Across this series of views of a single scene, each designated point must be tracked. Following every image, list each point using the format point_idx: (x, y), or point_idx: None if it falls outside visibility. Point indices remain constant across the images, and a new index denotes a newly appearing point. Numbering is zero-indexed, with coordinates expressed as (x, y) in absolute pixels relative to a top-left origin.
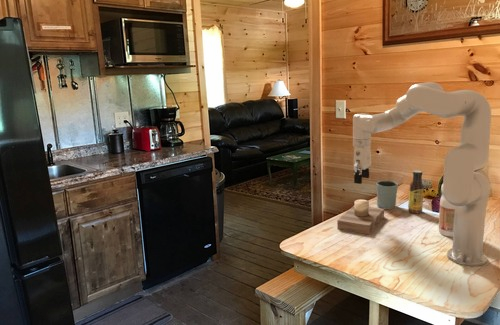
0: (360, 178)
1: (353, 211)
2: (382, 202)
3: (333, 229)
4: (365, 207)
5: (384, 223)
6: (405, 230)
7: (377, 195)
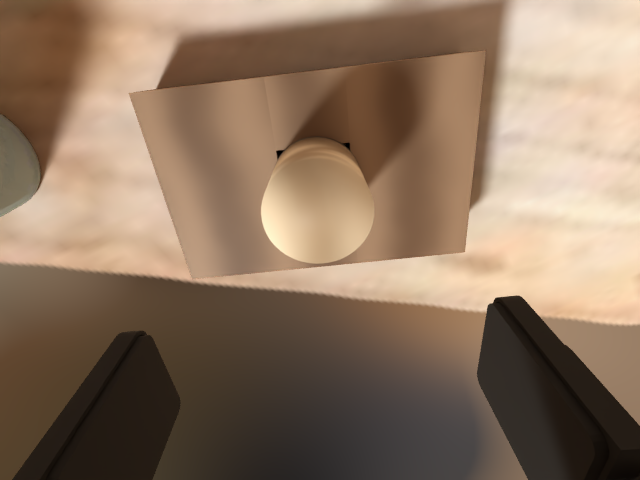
0: (575, 378)
1: None
2: (6, 169)
3: None
4: (347, 159)
5: (249, 40)
6: None
7: None
